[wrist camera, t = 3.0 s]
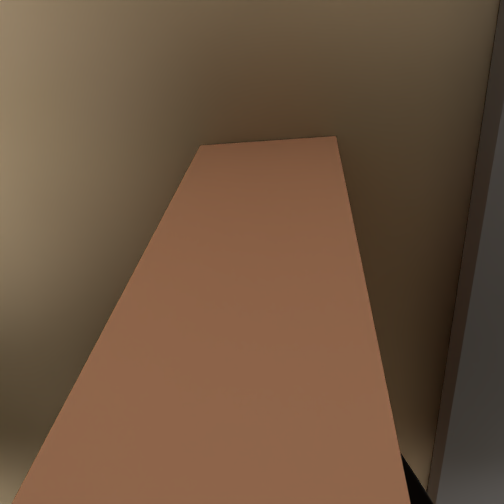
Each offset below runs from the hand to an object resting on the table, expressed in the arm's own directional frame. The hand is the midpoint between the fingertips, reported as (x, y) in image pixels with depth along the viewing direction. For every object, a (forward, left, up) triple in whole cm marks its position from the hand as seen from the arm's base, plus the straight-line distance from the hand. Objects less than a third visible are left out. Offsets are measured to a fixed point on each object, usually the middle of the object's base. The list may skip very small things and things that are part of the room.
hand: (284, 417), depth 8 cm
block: (0, 0, -1) cm, 1 cm away
